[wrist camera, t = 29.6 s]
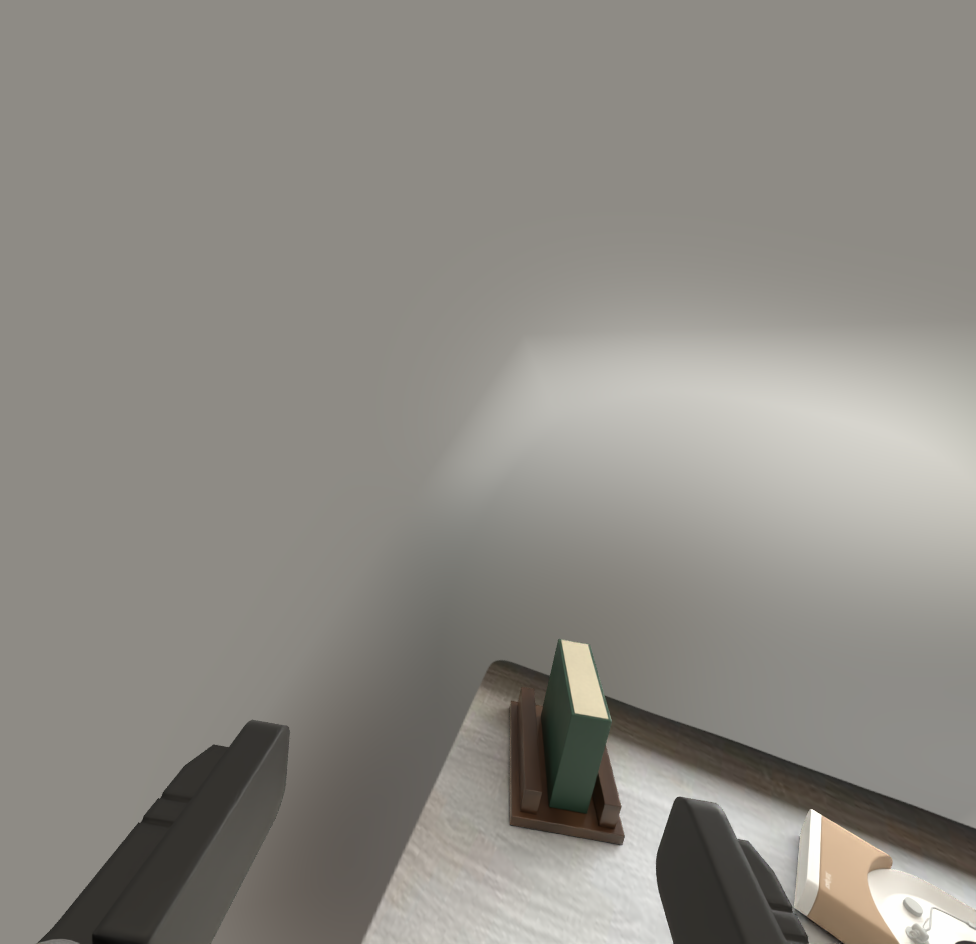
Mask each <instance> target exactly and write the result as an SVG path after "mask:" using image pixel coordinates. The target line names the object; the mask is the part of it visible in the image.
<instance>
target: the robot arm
mask: <svg viewBox="0 0 976 944" xmlns="http://www.w3.org/2000/svg"><path fill="white" fill-rule="evenodd" d="M289 734H290V731H289V727H288V726H284V725H279V724H273V723H268V722H262V721H256V720H251V721H249V722H248V723H247V724H246V725H245V726H244V727H243V729H242V730H241V732H240V733H239V734H238V736H237V737H236V738H235V740H234V741H233V743H232V744H231V745H230V747H224V746H218V745H212V746H211V747H210V748H208V749H207V750H205V751H204V752H203V753H201V754H200V755H199V756H197V757H196V758H194V759H193V760H192V761H190V762H189V763H188V764H186V765H185V766H184V767H183V768H182V770H181V771H180V772H179V773H178V775H177V776H176V777H175V778H174V780H173V781H172V782H171V783H170V784H169V786H168V787H167V788H166V789H165V790H164V792H163V794H162V796H161V798H160V799H159V798H158V799H157V800H156V802H155V803H154V804H153V805H152V807H151V808H150V809H149V810H148V811H147V813H146V814H145V815H144V817H143V820H142V822H141V823H138V824H137V825H136V826H135V827H134V829H133V830H132V831H131V832H130V834H129V835H128V836H127V837H126V839H125V840H124V841H123V842H122V844H121V845H120V846H119V847H118V849H117V850H116V851H115V852H114V853H113V855H112V856H111V857H110V858H109V859H108V861H107V862H106V863H105V864H104V866H103V867H102V868H101V869H100V871H99V872H98V873H97V874H96V875H95V877H94V878H93V879H92V880H91V882H90V883H89V884H88V886H87V887H86V888H85V889H84V890H83V891H82V893H81V894H80V895H79V897H78V898H77V899H76V900H75V901H74V903H73V904H72V905H71V906H70V908H69V909H68V910H67V911H66V912H65V914H64V915H63V916H62V918H61V919H60V920H59V921H58V922H57V923H56V924H55V926H54V927H53V928H52V929H51V930H50V931H49V932H48V933H47V934H46V935H45V936H44V937H43V938H42V939H41V940H40V941H39V942H38V943H37V944H211V942H212V940H213V938H214V937H215V935H216V933H217V931H218V929H219V927H220V925H221V923H222V921H223V919H224V917H225V915H226V913H227V911H228V909H229V908H230V906H231V904H232V902H233V900H234V898H235V896H236V894H237V892H238V890H239V888H240V886H241V884H242V882H243V880H244V878H245V877H246V875H247V873H248V871H249V868H250V867H251V865H252V863H253V861H254V859H255V857H256V855H257V853H258V851H259V849H260V847H261V845H262V843H263V842H264V840H265V838H266V836H267V834H268V832H269V830H270V828H271V826H272V824H273V822H274V820H275V818H276V816H277V813H278V811H279V808H280V805H281V802H282V799H283V795H284V791H285V786H286V774H287V761H288V747H289ZM656 876H657V884H658V890H659V894H660V897H661V901H662V904H663V908H664V911H665V915H666V918H667V922H668V926H669V929H670V933H671V936H672V940H673V943H674V944H809V942H808V936H807V934H806V932H805V930H804V928H803V927H802V925H801V923H800V921H799V919H798V917H797V915H796V914H794V913H793V911H792V905H791V904H790V902H789V900H788V898H787V896H786V894H785V892H784V890H783V888H782V886H781V884H780V883H779V881H778V879H777V877H776V875H775V873H774V871H773V870H772V869H771V868H770V867H769V865H768V864H767V863H766V862H765V861H764V859H763V858H762V857H761V856H760V855H759V853H758V852H757V851H756V850H755V849H754V847H753V846H752V845H751V844H750V843H749V841H746V840H740V839H737V838H736V836H735V833H734V831H733V829H732V827H731V825H730V823H729V821H728V819H727V817H726V815H725V813H724V811H723V809H722V808H721V807H720V806H719V805H718V804H717V803H713V802H707V801H701V800H696V799H690V798H684V797H677V798H676V799H675V801H674V803H673V806H672V809H671V812H670V815H669V818H668V821H667V824H666V827H665V830H664V833H663V836H662V839H661V842H660V846H659V849H658V852H657V858H656Z"/></svg>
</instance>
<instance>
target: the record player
mask: <svg viewBox="0 0 976 944" xmlns="http://www.w3.org/2000/svg"><path fill="white" fill-rule="evenodd" d="M891 866H892V858H891V857H890V856H889V855H887V854H886V853H884V852H882V851H881V850H879V849H877V848H876V847H874V846H872V845H871V844H869V843H867V842H866V841H864V840H862V839H861V838H859V837H857V836H855V835H854V834H852V833H850V832H849V831H847V830H845V829H844V828H842V827H840V826H839V825H837V824H835V823H834V822H832V821H830V820H829V819H827V818H825V817H824V816H821V815H820V814H818V813H817V812H815V811H813V810H812V809H810V811H809V812H808V814H807V816H806V819H805V821H804V824H803V826H802V829H801V833H800V843H799V854H798V866H797V878H796V889H795V901H794V908H795V909H797V910H798V911H800V912H801V913H802V914H804V915H805V916H807V917H808V918H809V919H811V920H812V921H814V922H815V923H816V924H818V925H819V926H821V927H822V928H823V929H825V930H826V931H828V932H829V933H830V934H832V935H833V936H835V937H836V938H837V939H839V940H840V941H842V942H843V943H844V944H976V910H975V909H973V908H971V907H969V906H968V905H966V904H964V903H963V902H961V901H959V900H958V899H956V898H954V897H953V896H951V895H949V894H947V893H946V892H944V891H942V890H941V889H939V888H937V887H935V886H934V885H932V884H930V883H928V882H926V881H924V880H922V879H920V878H918V877H916V876H913V875H911V874H908V873H905V872H901V871H898V870H893V869H891Z"/></svg>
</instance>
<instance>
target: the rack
mask: <svg viewBox="0 0 976 944" xmlns="http://www.w3.org/2000/svg"><path fill="white" fill-rule="evenodd" d="M542 709H543V706H538V705H535V693H534V689H532V688H526V687H521V691H520V696H519V700H518V702H515V701H511V704H510V825H514V826H519V827H525V828H530V829H536V830H542V831H547V832H553V833H559V834H564V835H570V836H575V837H581V838H587V839H592V840H598V841H603V842H609V843H615V844H620V845H622V844H623V841H624V838H625V835H624V831H623V827H622V823H621V819H620V815H619V814H620V810H621V803H620V799H619V795H618V791H617V787H616V783H615V779H614V775H613V771H612V767H611V763H610V759H609V755H608V751H607V747H606V745H605V749H604V753H603V756H602V760H601V764H600V767H599V771H598V775H597V778H596V782H595V786H594V789H593V793H592V797H591V800H590V804H589V808H588V811H587V813H580V812H575V811H569V810H563V809H558V808H552V807H549V802H548V791H547V779H546V768H545V756H544V745H543V733H542V722H541V713H542Z"/></svg>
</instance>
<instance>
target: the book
mask: <svg viewBox="0 0 976 944" xmlns="http://www.w3.org/2000/svg"><path fill="white" fill-rule="evenodd" d="M541 722H542V733H543V745H544V756H545V768H546V779H547V791H548V802H549V807H552V808H558V809H563V810H569V811H575V812H580V813H587V811H588V808H589V804H590V800H591V797H592V793H593V789H594V786H595V782H596V778H597V775H598V771H599V767H600V764H601V760H602V756H603V753H604V749H605V745H606V742H607V738H608V734H609V731H610V727H611V723H612V720H611V717H610V713H609V710H608V706H607V703H606V699H605V696H604V692H603V689H602V685H601V682H600V678H599V675H598V671H597V668H596V664H595V661H594V657H593V654H592V650H591V646H590V645H589V644H584V643H578V642H573V641H567V640H561V639H559V640H558V643H557V648H556V652H555V656H554V661H553V665H552V670H551V674H550V678H549V682H548V687H547V691H546V696H545V700H544V704H543V709H542V713H541Z"/></svg>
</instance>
